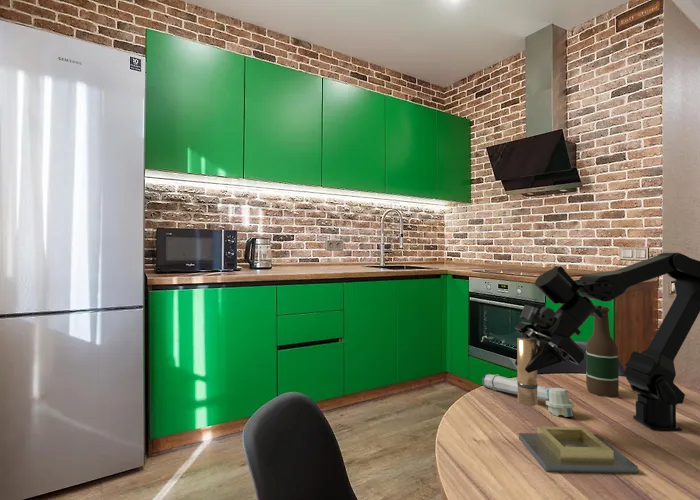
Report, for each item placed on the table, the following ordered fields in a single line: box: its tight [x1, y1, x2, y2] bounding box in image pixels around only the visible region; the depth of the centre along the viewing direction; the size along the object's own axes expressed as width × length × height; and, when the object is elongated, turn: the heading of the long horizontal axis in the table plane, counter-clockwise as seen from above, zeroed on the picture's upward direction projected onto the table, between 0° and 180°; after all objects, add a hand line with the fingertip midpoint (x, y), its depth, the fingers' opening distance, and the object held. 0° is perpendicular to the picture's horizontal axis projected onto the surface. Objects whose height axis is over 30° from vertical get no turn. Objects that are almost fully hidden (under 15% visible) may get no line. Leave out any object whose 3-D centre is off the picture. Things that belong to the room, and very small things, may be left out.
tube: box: [516, 336, 539, 407], centre depth 85 cm, size 4×4×14 cm
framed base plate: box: [518, 426, 639, 474], centre depth 74 cm, size 16×12×3 cm
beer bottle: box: [585, 305, 620, 398], centre depth 107 cm, size 8×8×24 cm
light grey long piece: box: [482, 373, 575, 418], centre depth 101 cm, size 5×7×25 cm
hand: (521, 368), depth 85 cm, fingers closed on tube, 4 cm apart
